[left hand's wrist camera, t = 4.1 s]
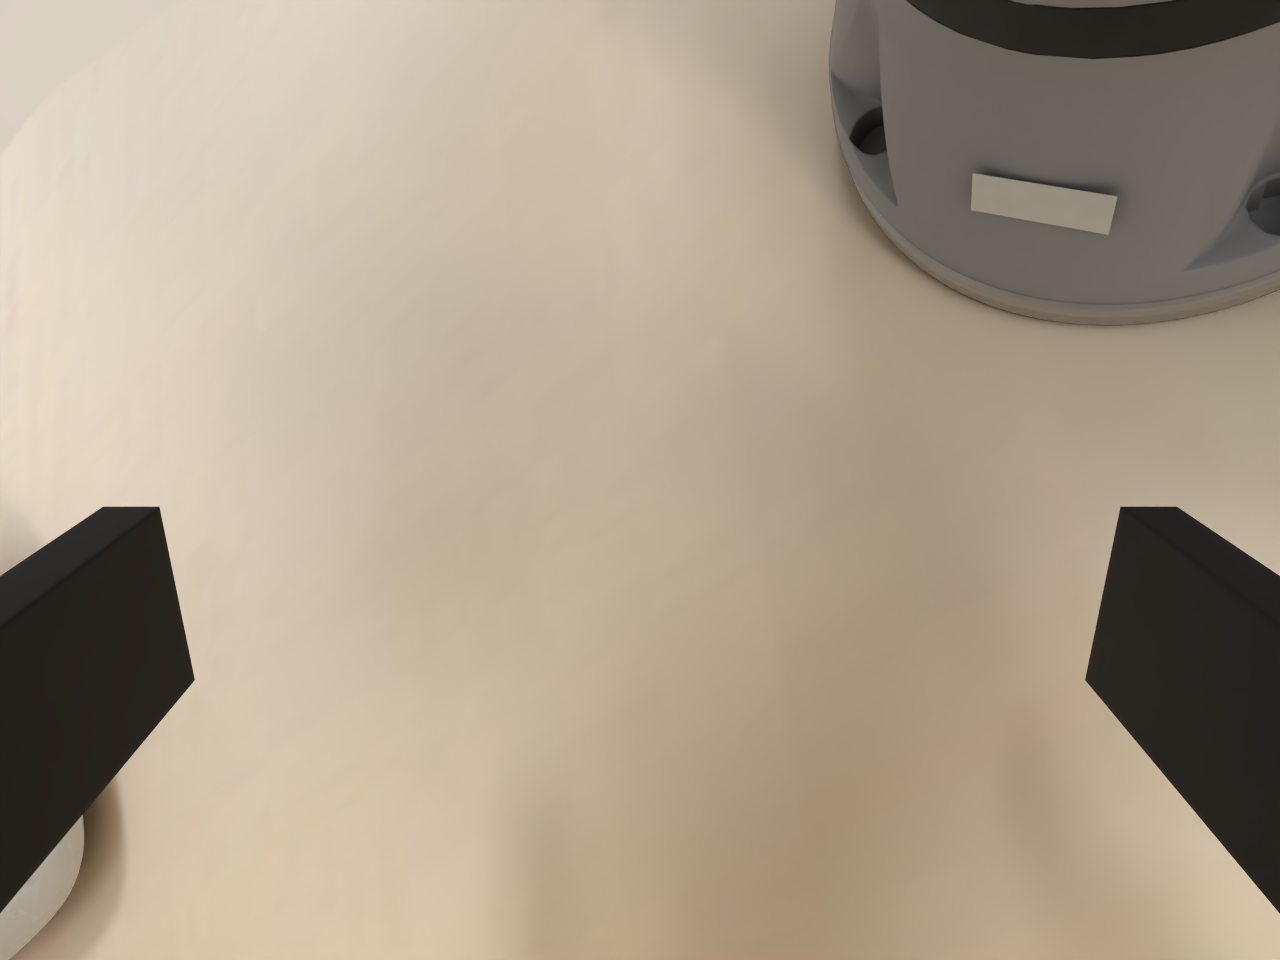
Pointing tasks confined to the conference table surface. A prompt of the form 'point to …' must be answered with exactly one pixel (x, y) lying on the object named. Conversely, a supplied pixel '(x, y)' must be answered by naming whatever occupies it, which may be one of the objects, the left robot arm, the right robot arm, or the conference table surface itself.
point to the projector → (42, 893)
